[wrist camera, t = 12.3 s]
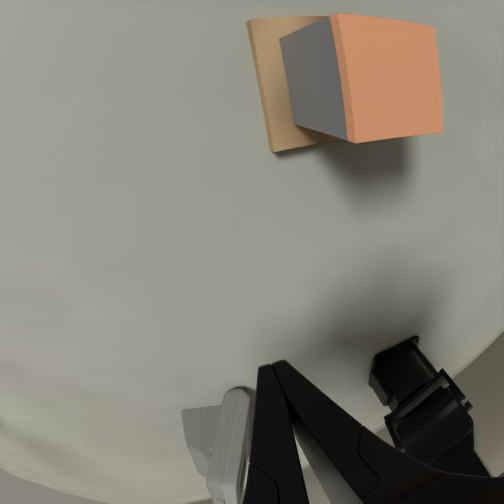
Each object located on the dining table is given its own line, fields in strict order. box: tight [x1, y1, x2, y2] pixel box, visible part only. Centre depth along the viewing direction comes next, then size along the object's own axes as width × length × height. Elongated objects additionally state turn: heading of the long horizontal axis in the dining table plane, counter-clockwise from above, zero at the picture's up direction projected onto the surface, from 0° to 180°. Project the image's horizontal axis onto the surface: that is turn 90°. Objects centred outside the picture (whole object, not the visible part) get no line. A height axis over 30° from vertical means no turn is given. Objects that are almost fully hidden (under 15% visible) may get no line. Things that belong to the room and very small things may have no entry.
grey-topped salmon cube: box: [279, 14, 444, 143], centre depth 12 cm, size 5×5×7 cm
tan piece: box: [247, 16, 343, 152], centre depth 13 cm, size 8×8×6 cm
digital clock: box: [182, 388, 250, 504], centre depth 26 cm, size 16×9×11 cm, turn 167°
